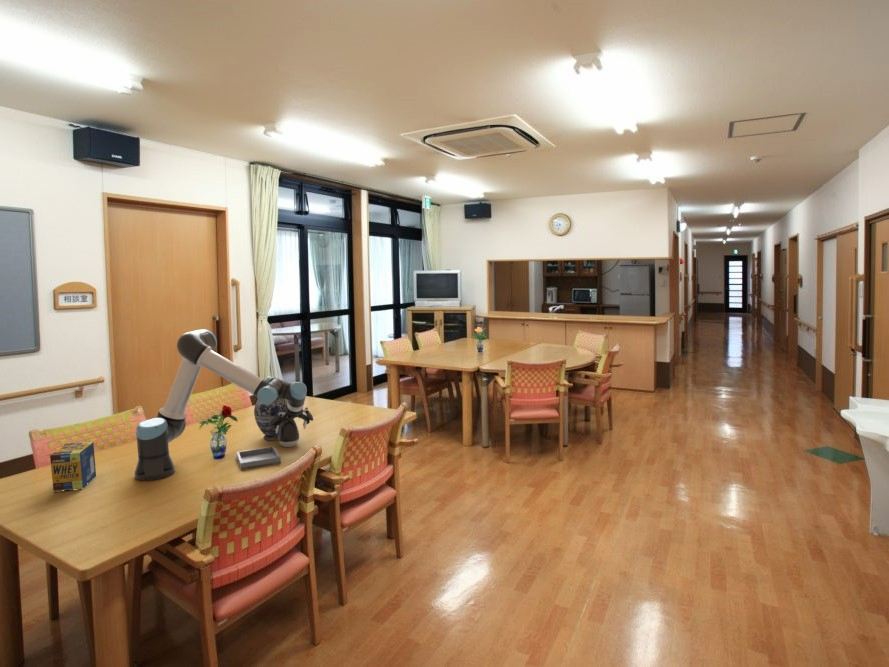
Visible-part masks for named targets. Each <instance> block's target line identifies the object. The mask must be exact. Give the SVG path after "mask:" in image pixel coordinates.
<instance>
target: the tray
mask: <svg viewBox="0 0 889 667" xmlns="http://www.w3.org/2000/svg"><path fill="white" fill-rule="evenodd" d="M235 454H236V460H237V463H238V466H239V468H240V470H241V471H242V470H247V469H254V468H259V467H266V466H271V465H278V464H281V455H280V454H279V452H278V451H277V449H276V447H275V446H274V445H273V446H266V447H259V448H254V449H253V448H252V449H247V450H240V451H239V450H238V451H236V453H235Z"/></svg>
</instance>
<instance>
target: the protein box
mask: <svg viewBox="0 0 889 667" xmlns="http://www.w3.org/2000/svg"><path fill="white" fill-rule="evenodd" d="M94 447H95V446H94V441H89V442H73V443H72V442H71V443H65V444H64V445H62V446H61V447H59V448H58V449H57V450H55V451H54V452H53V453H52V454H50V455H49V458H50V471H51V480H52V490H53V491H62V490H73V489H82V488H83V487H85V486H86V485H87V483H89V482H90V481H91V480H92V479H93V478H94V477H95V476H96V477H97V471H96V470H97V469H96V459H95V448H94ZM96 477H95V478H96ZM95 478H94V479H95ZM94 479H93V480H94ZM93 480H92V481H93ZM92 481H91V482H92ZM91 482H90V483H91ZM90 483H89V484H90ZM86 487H87V486H86ZM86 487H85V488H86Z"/></svg>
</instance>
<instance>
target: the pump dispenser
mask: <svg viewBox="0 0 889 667" xmlns="http://www.w3.org/2000/svg"><path fill="white" fill-rule="evenodd" d="M298 428H299V427H298V425H297V422H296V421H295V418H290V419H288V420H285V421H284V422H282V423H281V425H280V428H279V434H278V442H279V444H280V446H282V447H284V448H292V447H294V446H296V445H297V444H298V442H299V440H300V433H299V429H298Z"/></svg>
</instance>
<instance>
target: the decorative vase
mask: <svg viewBox="0 0 889 667" xmlns="http://www.w3.org/2000/svg"><path fill="white" fill-rule="evenodd" d="M287 402H288V400H287V399H284V398H281V397H277V399H276V400H275V401H273V402H272V403H270V404H263V403H261V402H260V401H259V400H258V399H257V400H256V403H255V405H254V409H253V414H254V420H255V423H256V426H257V427H258V429H259V430H260V431H261V432H262V433H263V435H264V436H263V439H264V440H266V441H277V440H278V434H279V428H280V425H281V424H279V428H278V433H276V430H275V429H274V426H271V423H270V421H271V420H272V419H273V418H274V417H275V416H276V415H277V414H278V413H279V411H282V412H285V411H286V408H287ZM278 441H279V440H278Z"/></svg>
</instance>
